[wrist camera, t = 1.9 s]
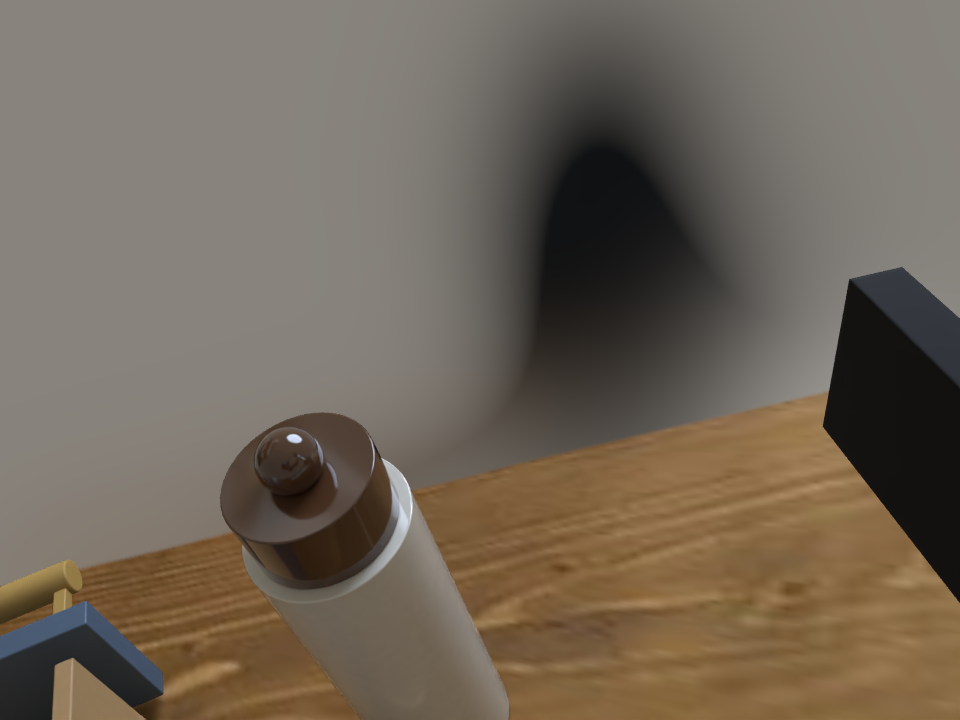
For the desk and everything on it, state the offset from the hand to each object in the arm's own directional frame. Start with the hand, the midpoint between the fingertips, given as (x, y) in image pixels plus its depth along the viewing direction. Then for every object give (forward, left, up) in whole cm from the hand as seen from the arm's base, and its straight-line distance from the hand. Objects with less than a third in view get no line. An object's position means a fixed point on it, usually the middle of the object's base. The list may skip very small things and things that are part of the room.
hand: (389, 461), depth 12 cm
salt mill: (+4, -10, -27) cm, 29 cm away
